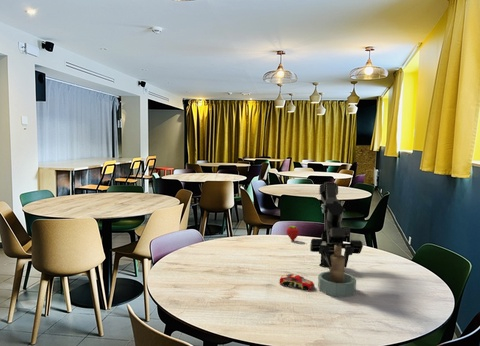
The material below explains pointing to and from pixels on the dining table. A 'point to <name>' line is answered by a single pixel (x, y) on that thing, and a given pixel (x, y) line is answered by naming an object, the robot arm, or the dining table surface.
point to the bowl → (337, 285)
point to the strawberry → (292, 232)
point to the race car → (296, 282)
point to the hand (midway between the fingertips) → (338, 266)
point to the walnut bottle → (337, 265)
